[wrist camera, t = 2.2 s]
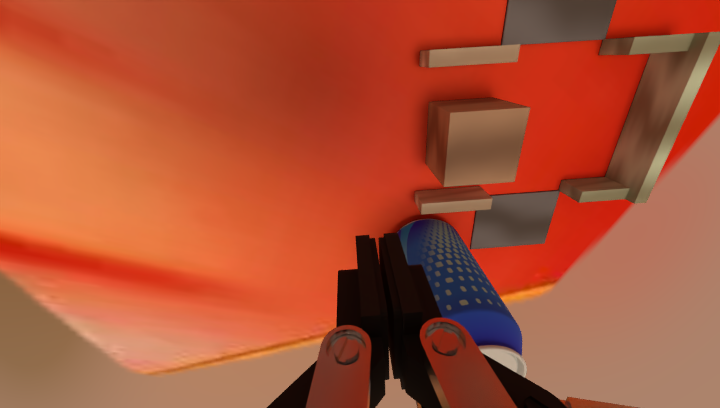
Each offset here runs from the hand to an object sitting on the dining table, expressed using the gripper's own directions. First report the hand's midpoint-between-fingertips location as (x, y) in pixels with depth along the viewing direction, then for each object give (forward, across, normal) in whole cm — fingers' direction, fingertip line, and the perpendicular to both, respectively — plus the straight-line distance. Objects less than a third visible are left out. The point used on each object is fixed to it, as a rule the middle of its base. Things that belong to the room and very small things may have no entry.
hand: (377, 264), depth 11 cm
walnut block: (+18, -10, -1) cm, 21 cm away
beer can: (+19, -7, +12) cm, 23 cm away
